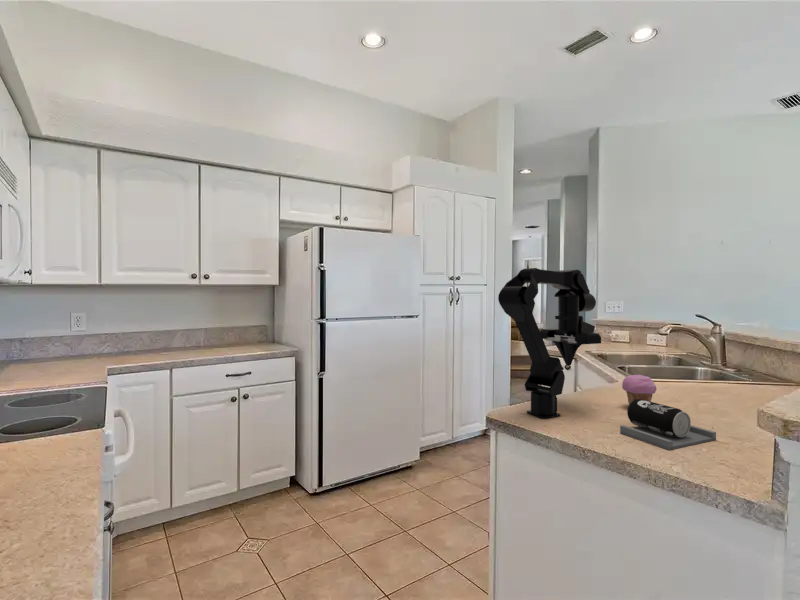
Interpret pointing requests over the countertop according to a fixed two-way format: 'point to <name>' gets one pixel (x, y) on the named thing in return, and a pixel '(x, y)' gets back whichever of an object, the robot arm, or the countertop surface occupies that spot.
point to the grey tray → (669, 437)
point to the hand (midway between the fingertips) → (568, 365)
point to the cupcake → (638, 387)
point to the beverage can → (659, 418)
